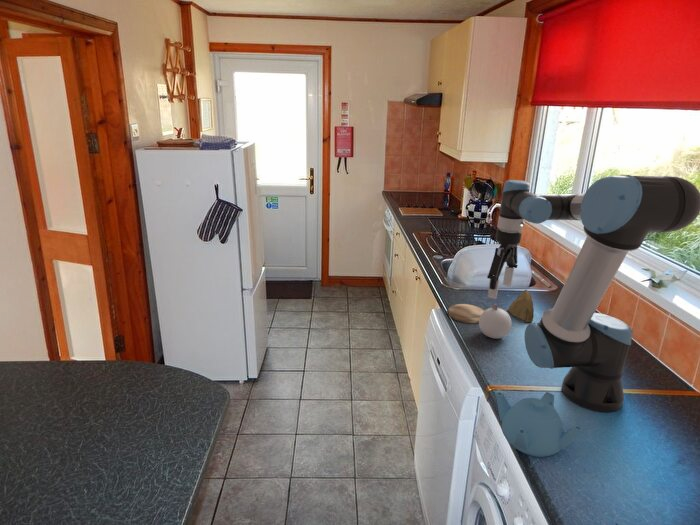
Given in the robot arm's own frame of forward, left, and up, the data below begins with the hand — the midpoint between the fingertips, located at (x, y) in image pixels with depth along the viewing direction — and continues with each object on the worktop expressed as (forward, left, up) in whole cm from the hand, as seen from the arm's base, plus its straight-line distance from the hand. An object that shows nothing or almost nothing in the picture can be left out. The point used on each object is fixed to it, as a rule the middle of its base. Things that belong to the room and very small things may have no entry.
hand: (499, 291), depth 153 cm
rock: (+22, -2, -17) cm, 28 cm away
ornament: (0, 0, -17) cm, 17 cm away
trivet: (+10, +14, -17) cm, 24 cm away
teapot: (-45, -27, -17) cm, 55 cm away
